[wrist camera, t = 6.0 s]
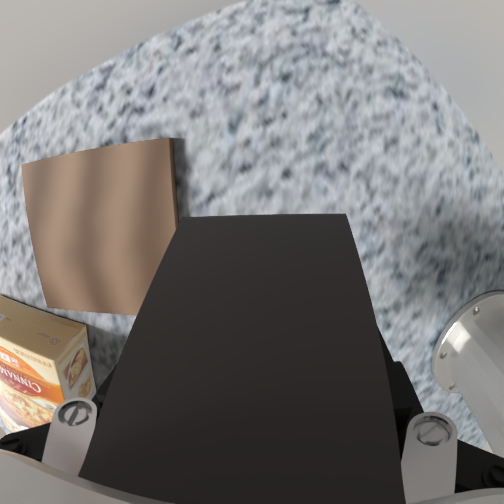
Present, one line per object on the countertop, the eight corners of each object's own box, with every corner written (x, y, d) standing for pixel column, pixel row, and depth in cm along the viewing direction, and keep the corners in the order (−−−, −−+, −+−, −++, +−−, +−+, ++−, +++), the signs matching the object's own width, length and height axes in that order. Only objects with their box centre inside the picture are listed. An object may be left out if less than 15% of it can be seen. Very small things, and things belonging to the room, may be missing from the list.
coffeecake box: (53, 361, 23) (90, 471, 29) (88, 323, 30) (109, 435, 36) (-40, 317, 23) (6, 429, 30) (-4, 291, 30) (28, 401, 36)
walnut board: (173, 138, 24) (168, 137, 23) (189, 312, 28) (186, 317, 27) (27, 163, 25) (21, 164, 24) (52, 303, 30) (47, 307, 29)
